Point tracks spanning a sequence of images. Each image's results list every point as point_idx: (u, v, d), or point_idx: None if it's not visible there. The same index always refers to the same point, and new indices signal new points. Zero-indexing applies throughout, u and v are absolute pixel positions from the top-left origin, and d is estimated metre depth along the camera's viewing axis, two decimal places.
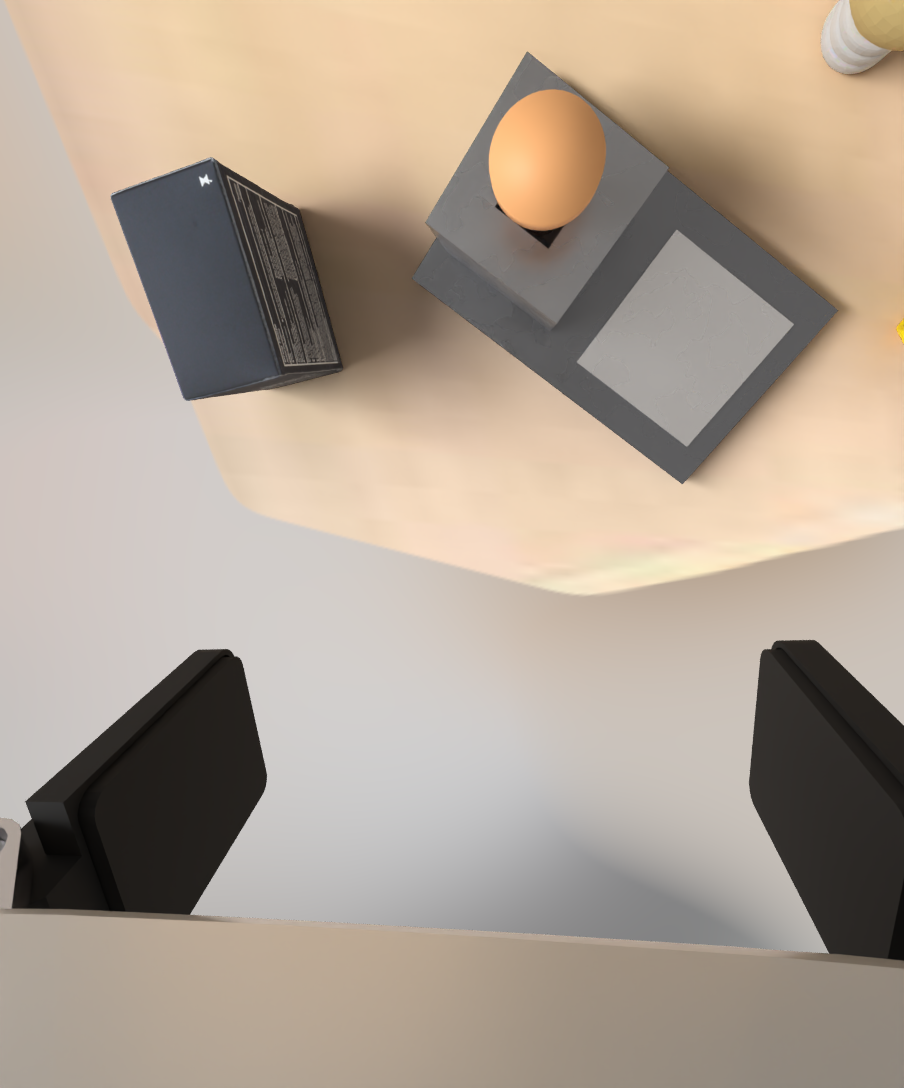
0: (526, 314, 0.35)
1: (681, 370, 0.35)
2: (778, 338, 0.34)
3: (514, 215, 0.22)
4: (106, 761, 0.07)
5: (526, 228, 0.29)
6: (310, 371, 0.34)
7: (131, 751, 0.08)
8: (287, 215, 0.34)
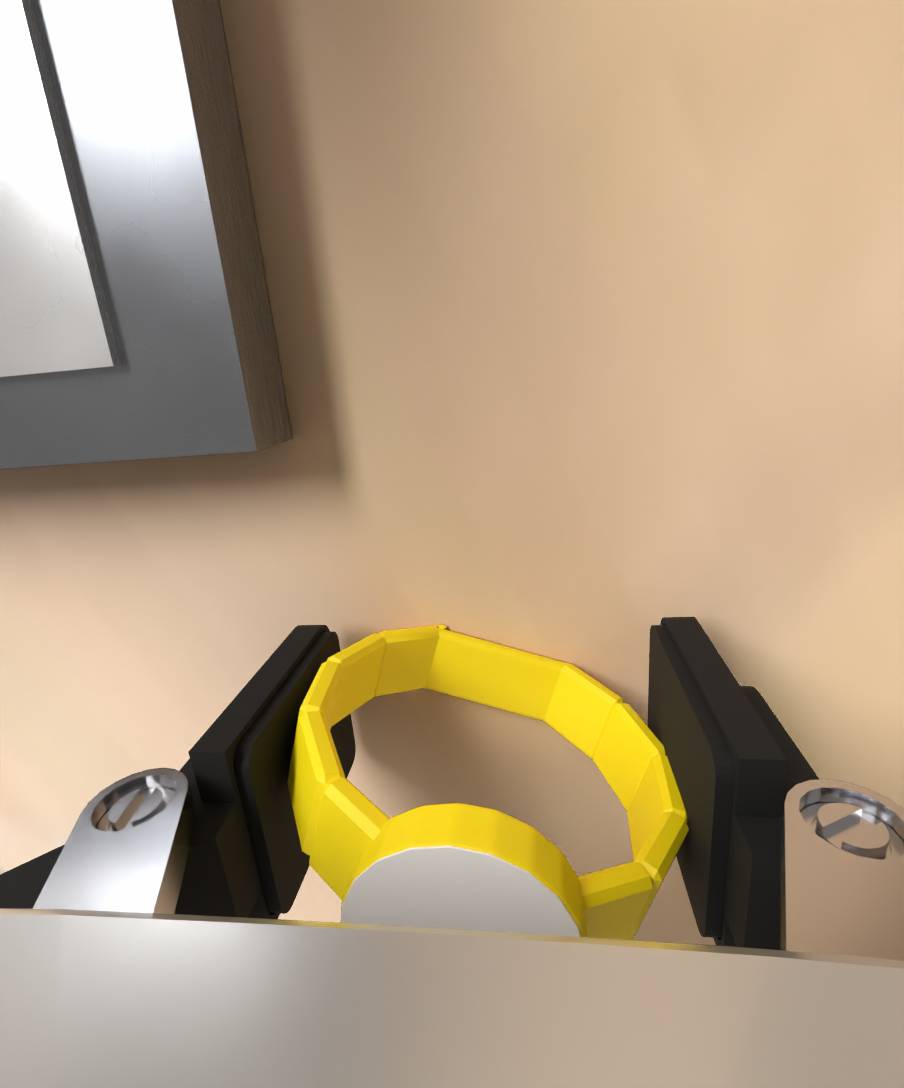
0: None
1: None
2: (53, 362, 0.09)
3: None
4: (249, 719, 0.08)
5: None
6: None
7: (267, 711, 0.08)
8: None
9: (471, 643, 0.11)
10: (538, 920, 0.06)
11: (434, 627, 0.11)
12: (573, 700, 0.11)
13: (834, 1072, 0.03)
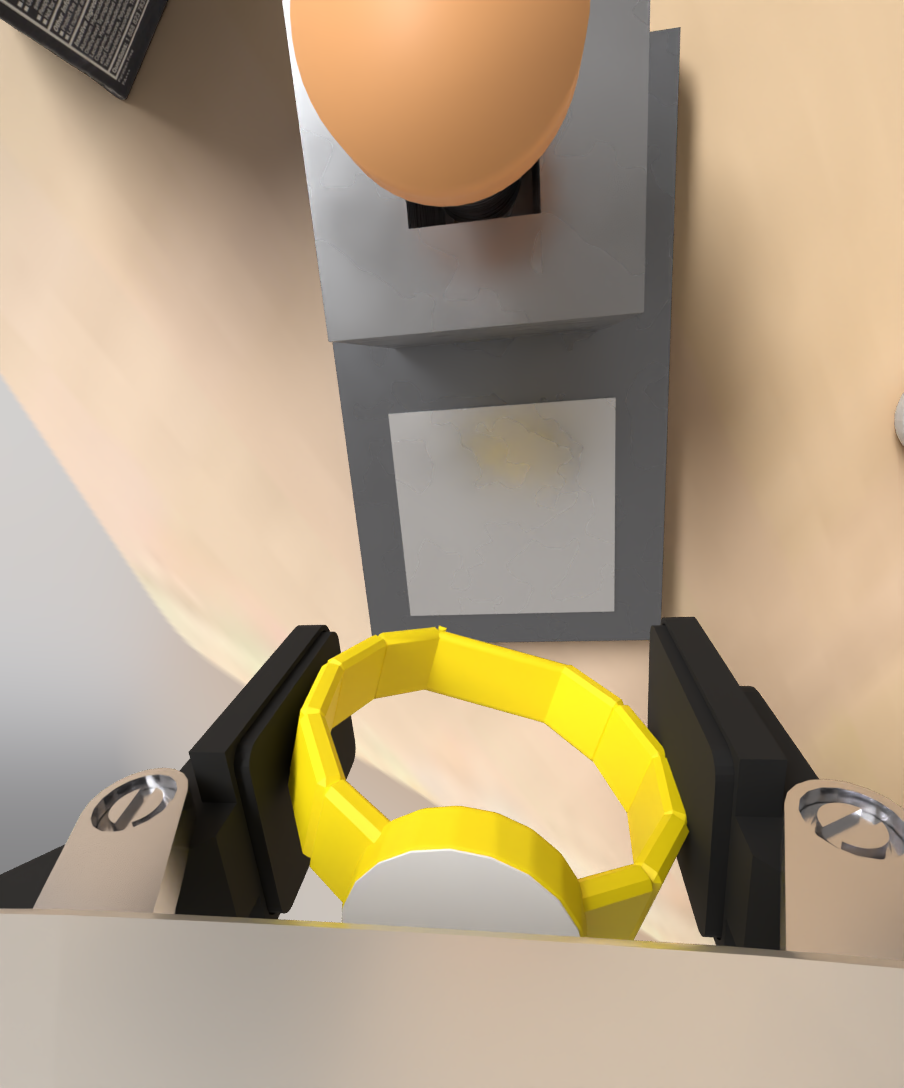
0: None
1: (478, 540, 0.24)
2: (589, 608, 0.25)
3: (297, 51, 0.09)
4: (251, 719, 0.08)
5: None
6: None
7: (268, 711, 0.08)
8: None
9: (471, 645, 0.11)
10: (538, 922, 0.06)
11: (434, 629, 0.11)
12: (573, 702, 0.11)
13: (834, 1072, 0.03)
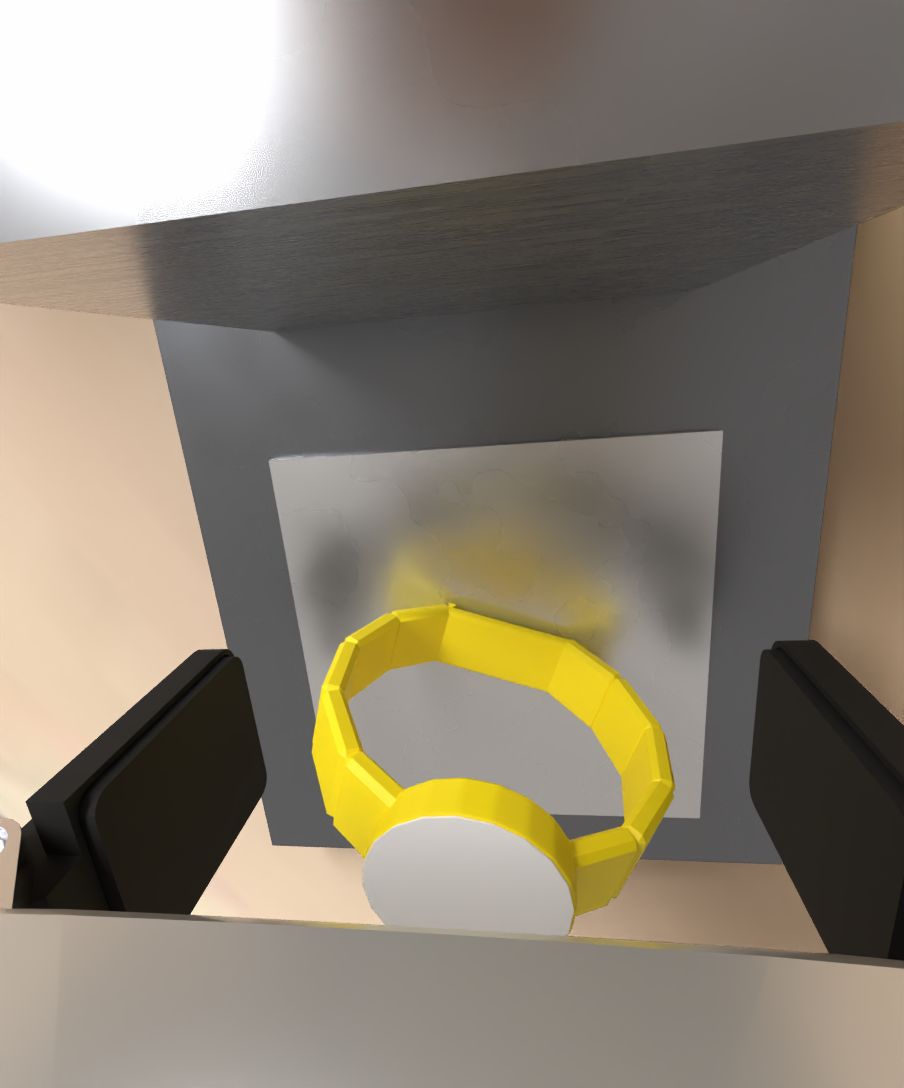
0: None
1: (448, 690, 0.13)
2: None
3: None
4: (106, 761, 0.07)
5: None
6: None
7: (131, 751, 0.08)
8: None
9: (479, 621, 0.12)
10: (534, 877, 0.07)
11: (444, 606, 0.12)
12: (574, 674, 0.12)
13: (834, 1072, 0.03)
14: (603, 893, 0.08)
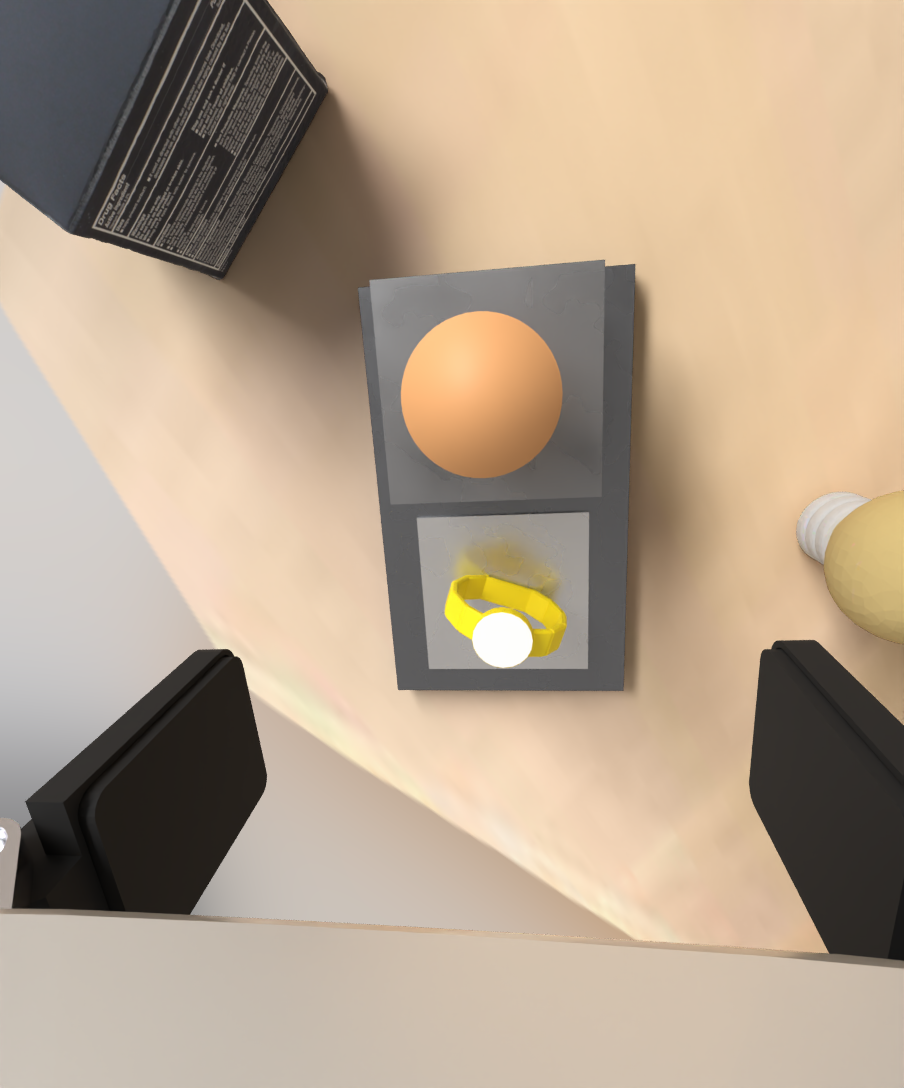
0: None
1: (483, 612, 0.31)
2: (568, 666, 0.32)
3: (403, 407, 0.16)
4: (106, 760, 0.07)
5: None
6: (150, 255, 0.24)
7: (131, 751, 0.08)
8: (297, 83, 0.24)
9: (498, 581, 0.30)
10: (522, 632, 0.25)
11: (484, 575, 0.30)
12: (535, 602, 0.30)
13: (834, 1072, 0.03)
14: (542, 649, 0.26)
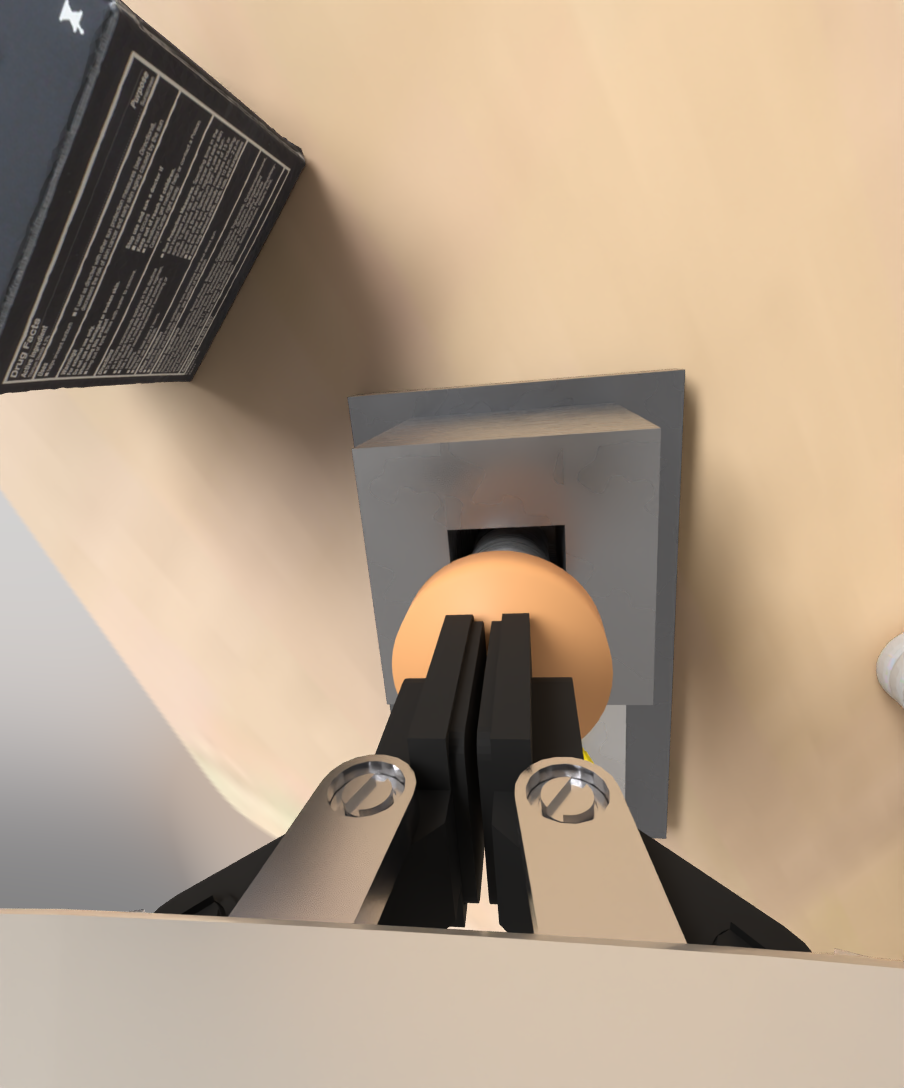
0: None
1: None
2: None
3: (395, 677, 0.12)
4: (452, 706, 0.08)
5: None
6: (91, 385, 0.20)
7: (461, 698, 0.08)
8: (264, 164, 0.20)
9: None
10: None
11: None
12: None
13: (834, 1073, 0.03)
14: None
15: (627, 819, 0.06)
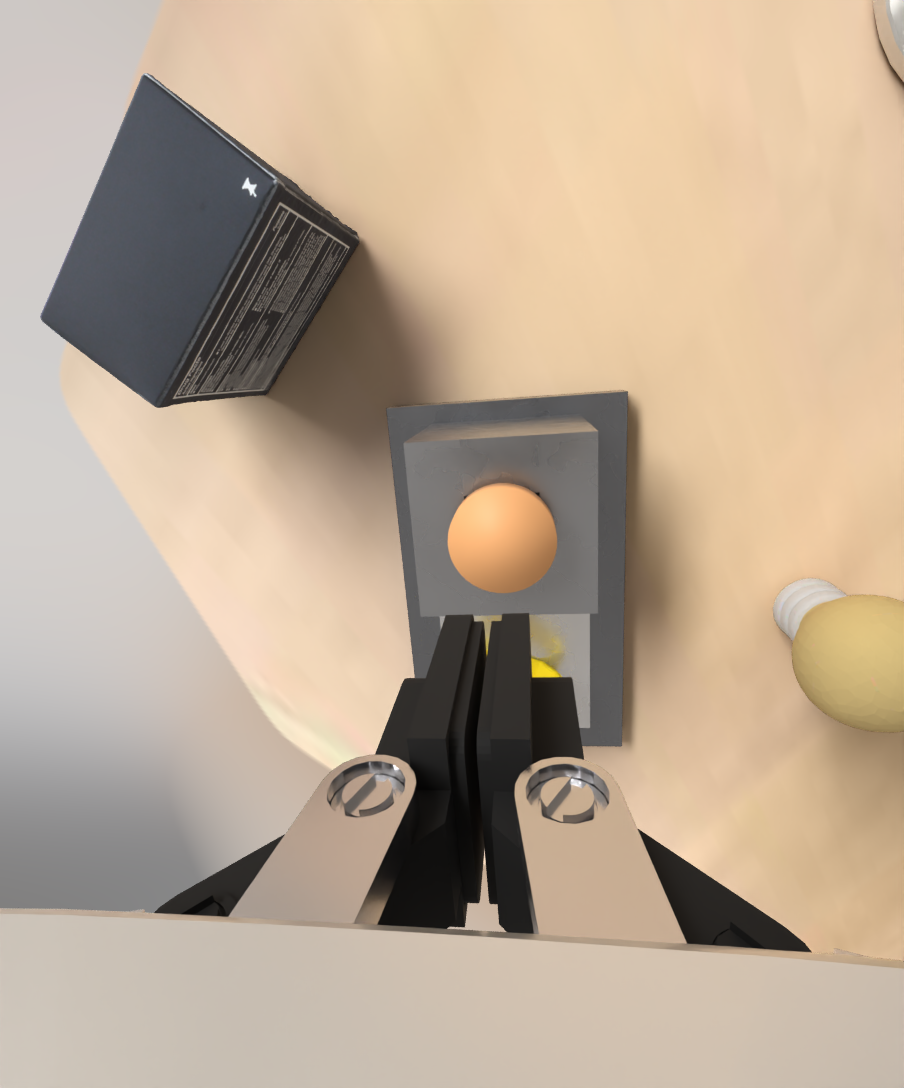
0: None
1: None
2: None
3: (448, 546, 0.23)
4: (452, 706, 0.08)
5: None
6: (212, 399, 0.28)
7: (461, 698, 0.08)
8: (335, 247, 0.28)
9: None
10: None
11: None
12: (543, 672, 0.34)
13: (834, 1072, 0.03)
14: None
15: (627, 819, 0.06)
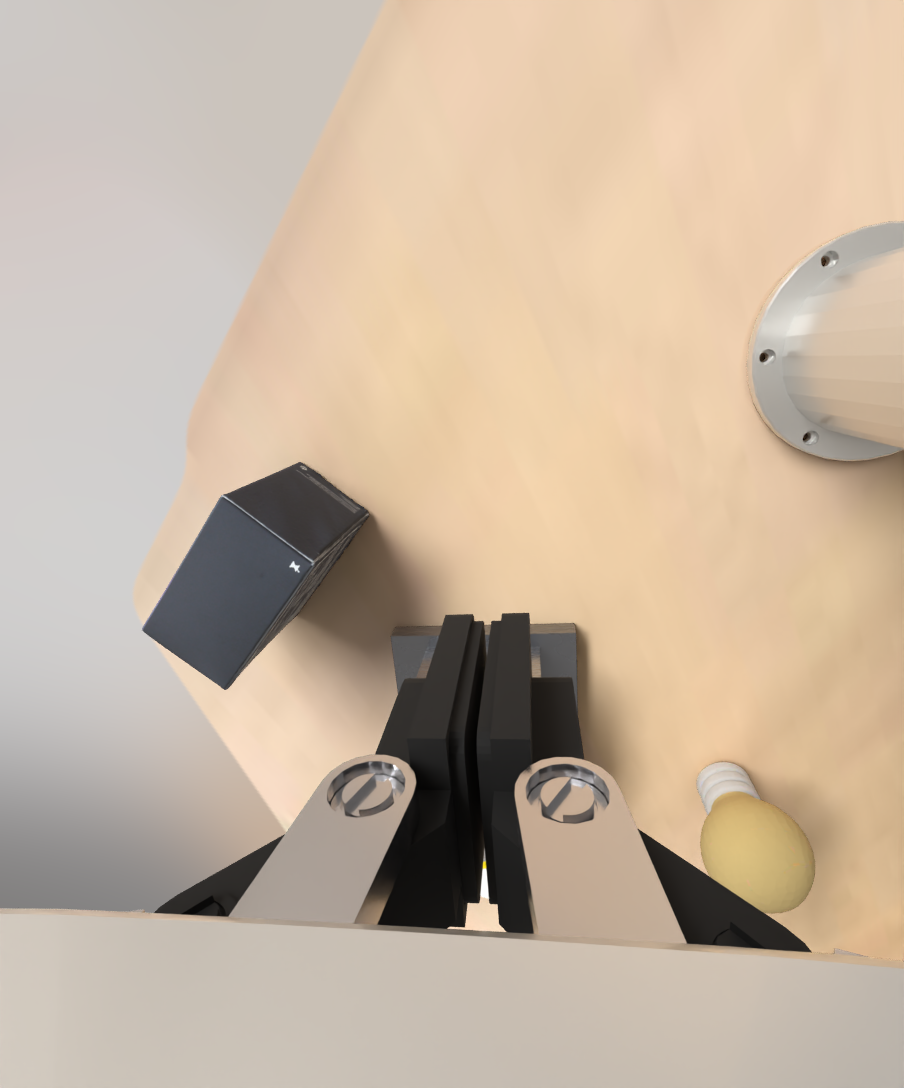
0: None
1: None
2: None
3: None
4: (452, 706, 0.08)
5: None
6: (259, 651, 0.37)
7: (462, 698, 0.08)
8: (351, 534, 0.37)
9: None
10: None
11: None
12: None
13: (834, 1073, 0.03)
14: None
15: (627, 819, 0.06)
